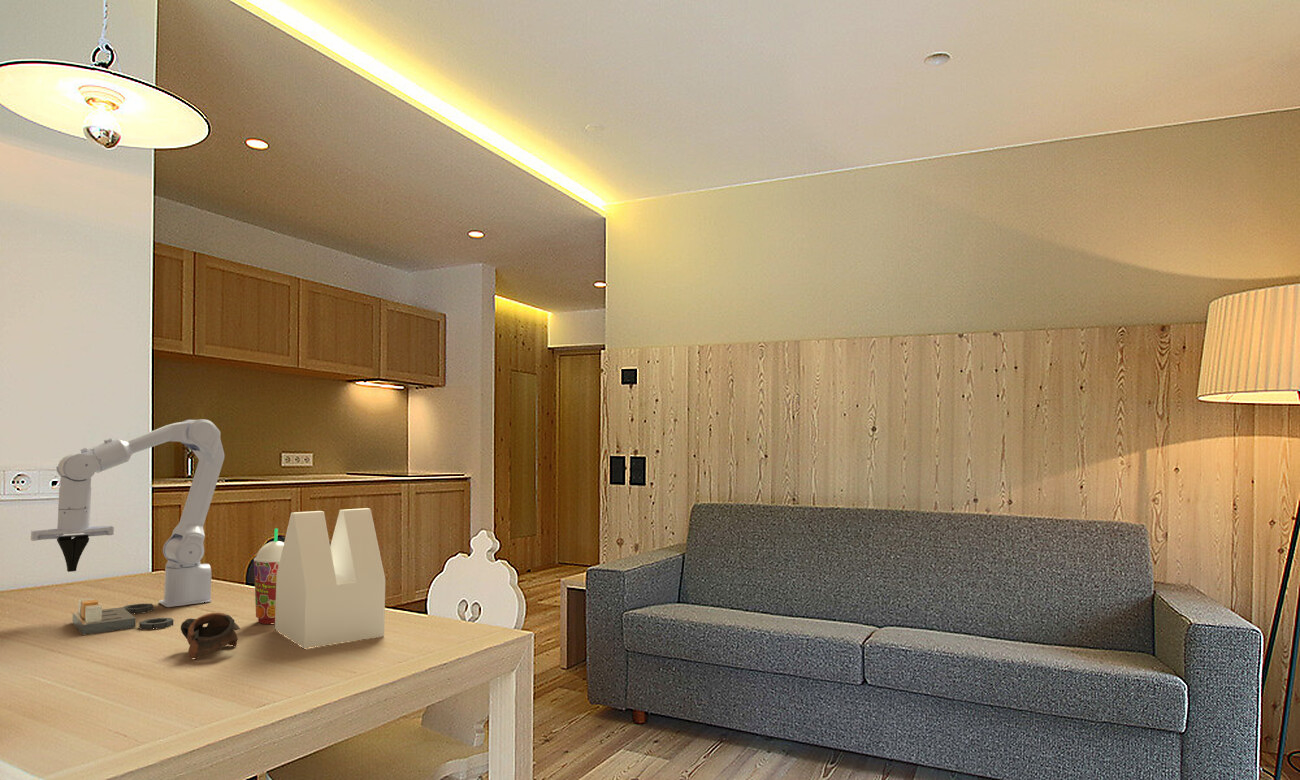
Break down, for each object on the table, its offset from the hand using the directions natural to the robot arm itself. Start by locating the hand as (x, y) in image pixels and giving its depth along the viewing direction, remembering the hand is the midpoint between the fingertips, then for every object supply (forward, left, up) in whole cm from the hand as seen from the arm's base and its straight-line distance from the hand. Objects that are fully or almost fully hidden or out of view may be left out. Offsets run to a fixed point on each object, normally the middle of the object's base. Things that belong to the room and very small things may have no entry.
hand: (71, 570), depth 171 cm
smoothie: (-32, +32, -11) cm, 46 cm away
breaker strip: (-4, +12, -10) cm, 16 cm away
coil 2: (-12, +20, -10) cm, 26 cm away
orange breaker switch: (-2, +12, -8) cm, 14 cm away
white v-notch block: (-37, +50, -11) cm, 63 cm away
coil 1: (-12, +1, -10) cm, 16 cm away
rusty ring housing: (-15, +49, -11) cm, 53 cm away
